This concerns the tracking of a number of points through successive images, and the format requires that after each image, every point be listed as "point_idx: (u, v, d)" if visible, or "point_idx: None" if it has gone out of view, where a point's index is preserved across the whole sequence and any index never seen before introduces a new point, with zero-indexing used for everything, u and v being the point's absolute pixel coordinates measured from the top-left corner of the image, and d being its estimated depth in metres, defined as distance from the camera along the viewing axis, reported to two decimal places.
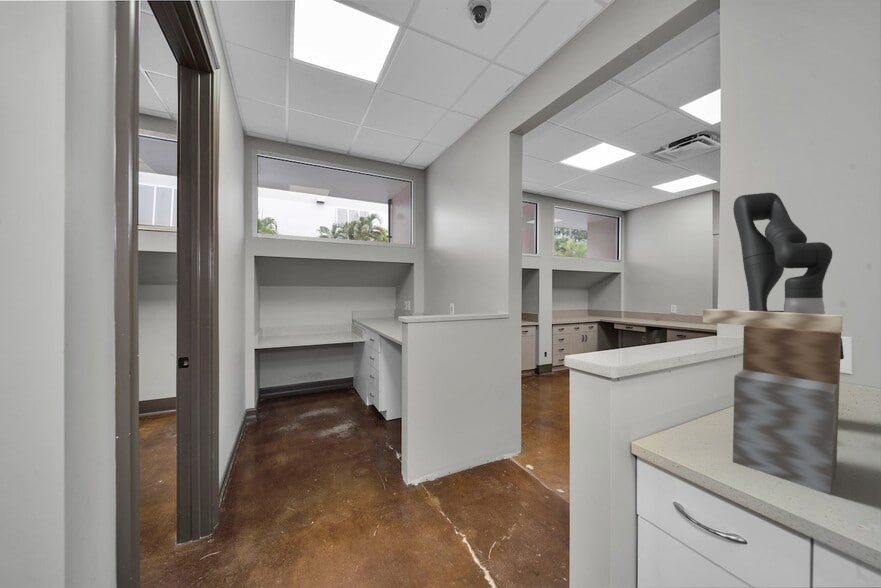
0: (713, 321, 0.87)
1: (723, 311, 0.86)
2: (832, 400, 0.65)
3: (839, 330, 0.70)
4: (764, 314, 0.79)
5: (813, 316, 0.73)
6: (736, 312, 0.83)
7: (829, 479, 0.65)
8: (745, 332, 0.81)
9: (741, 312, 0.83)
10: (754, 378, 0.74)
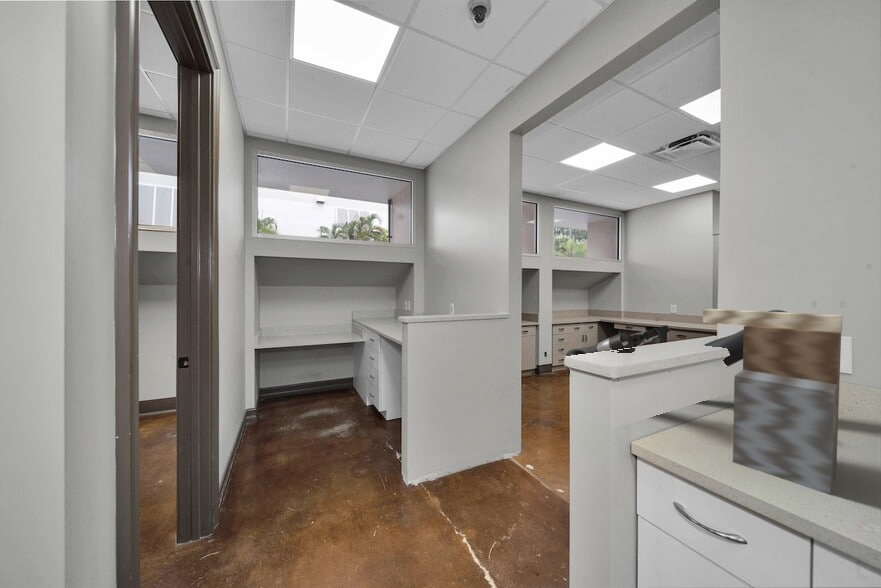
0: (713, 321, 0.87)
1: (723, 311, 0.86)
2: (832, 400, 0.65)
3: (839, 330, 0.70)
4: (764, 314, 0.79)
5: (813, 316, 0.73)
6: (736, 312, 0.83)
7: (829, 479, 0.65)
8: (745, 332, 0.81)
9: (741, 312, 0.83)
10: (754, 378, 0.74)
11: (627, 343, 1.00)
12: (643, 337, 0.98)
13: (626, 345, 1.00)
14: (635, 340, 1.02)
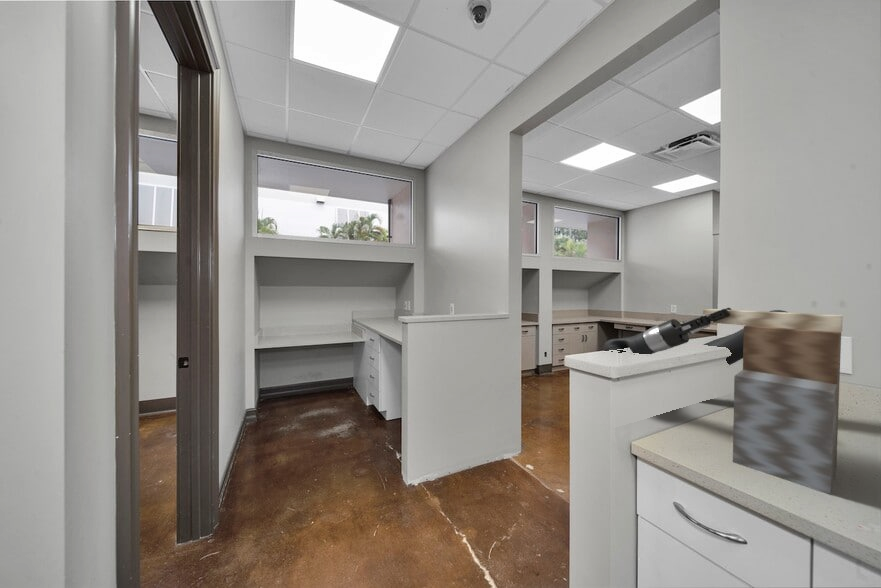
0: None
1: None
2: (832, 400, 0.65)
3: (839, 330, 0.70)
4: (764, 314, 0.79)
5: (813, 316, 0.73)
6: (736, 312, 0.83)
7: (829, 479, 0.65)
8: (745, 332, 0.81)
9: (741, 312, 0.83)
10: (754, 378, 0.74)
11: (690, 327, 0.88)
12: (710, 319, 0.86)
13: (689, 329, 0.88)
14: None
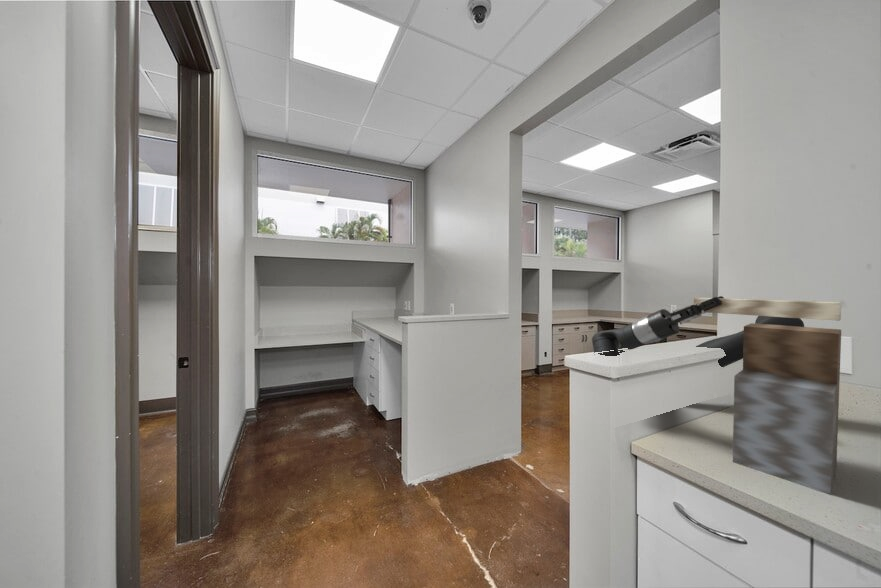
0: None
1: None
2: (832, 400, 0.65)
3: (837, 318, 0.65)
4: (758, 302, 0.74)
5: (810, 303, 0.68)
6: (728, 300, 0.78)
7: (829, 479, 0.65)
8: (745, 332, 0.81)
9: (733, 300, 0.78)
10: (754, 378, 0.74)
11: (680, 316, 0.83)
12: (701, 308, 0.81)
13: (678, 319, 0.83)
14: None
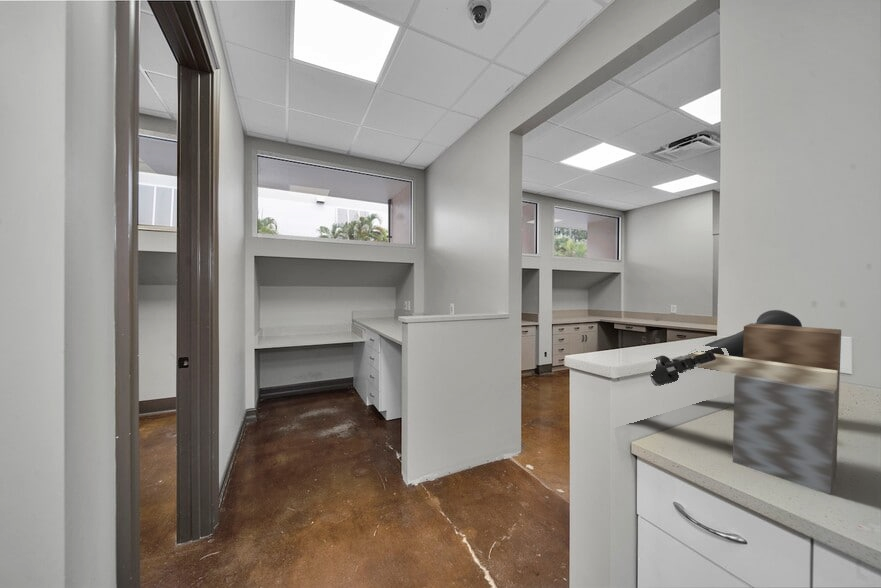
0: (702, 366, 0.83)
1: None
2: (832, 400, 0.65)
3: (834, 388, 0.66)
4: (755, 364, 0.75)
5: (806, 370, 0.69)
6: (726, 359, 0.79)
7: (829, 479, 0.65)
8: (745, 332, 0.81)
9: (731, 359, 0.78)
10: (754, 378, 0.74)
11: (674, 369, 0.84)
12: (695, 362, 0.82)
13: (673, 371, 0.84)
14: (682, 365, 0.86)
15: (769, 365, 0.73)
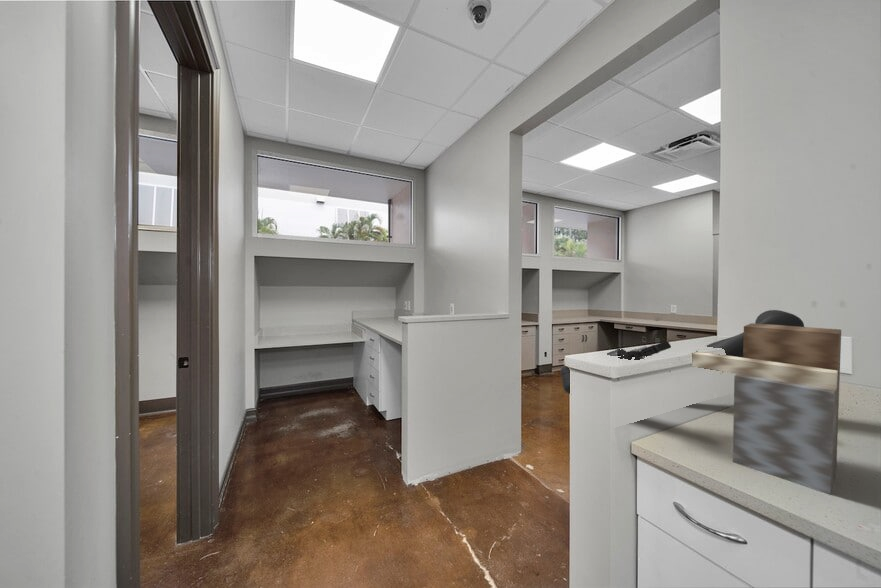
0: (702, 366, 0.83)
1: (713, 357, 0.81)
2: (832, 400, 0.65)
3: (834, 388, 0.66)
4: (755, 364, 0.75)
5: (806, 370, 0.69)
6: (726, 359, 0.79)
7: (829, 479, 0.65)
8: (745, 332, 0.81)
9: (731, 359, 0.78)
10: (754, 378, 0.74)
11: None
12: (641, 354, 0.91)
13: None
14: None
15: (769, 365, 0.73)
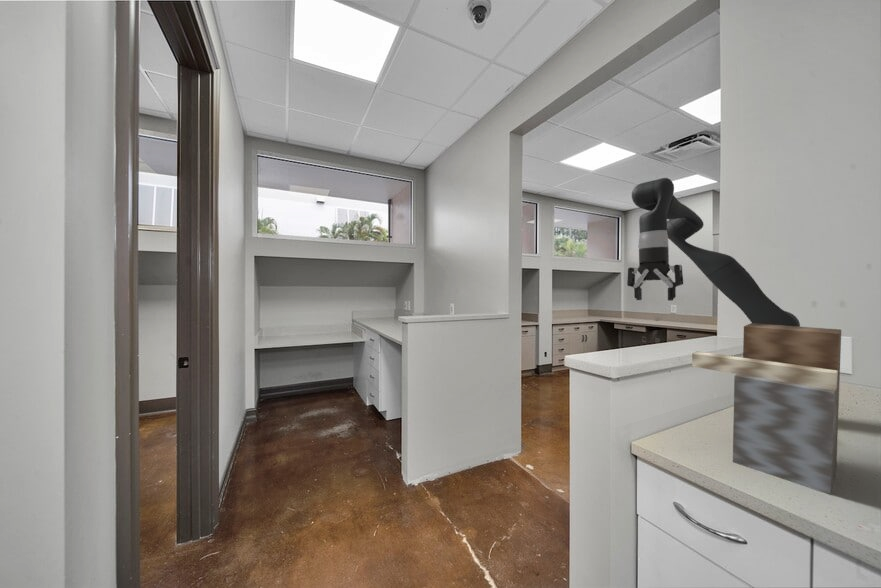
0: (702, 366, 0.83)
1: (713, 357, 0.81)
2: (832, 400, 0.65)
3: (834, 388, 0.66)
4: (755, 364, 0.75)
5: (806, 370, 0.69)
6: (726, 359, 0.79)
7: (829, 479, 0.65)
8: (745, 332, 0.81)
9: (731, 359, 0.78)
10: (754, 378, 0.74)
11: None
12: None
13: None
14: None
15: (769, 365, 0.73)
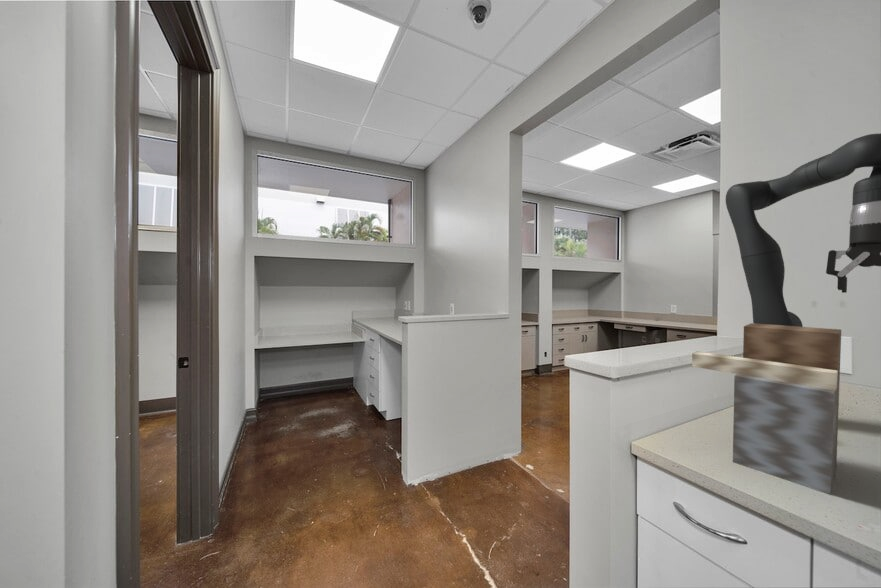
0: (702, 366, 0.83)
1: (713, 357, 0.81)
2: (832, 400, 0.65)
3: (834, 388, 0.66)
4: (755, 364, 0.75)
5: (806, 370, 0.69)
6: (726, 359, 0.79)
7: (829, 479, 0.65)
8: (745, 332, 0.81)
9: (731, 359, 0.78)
10: (754, 378, 0.74)
11: None
12: None
13: None
14: None
15: (769, 365, 0.73)
